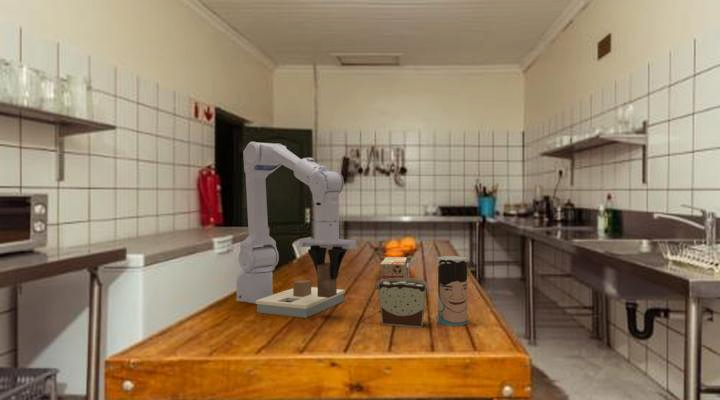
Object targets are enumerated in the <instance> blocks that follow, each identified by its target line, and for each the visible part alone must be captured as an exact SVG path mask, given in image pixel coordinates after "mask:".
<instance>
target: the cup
mask: <svg viewBox="0 0 720 400" xmlns="http://www.w3.org/2000/svg"><path fill="white" fill-rule="evenodd" d="M437 266H438V267H437V277H438V278H437V285H438V286H437V290H438V292H437V294H438V295H437V297H438V299H437V301H438V305H437V306H438V307H437V308H438V309H437V310H438V311H437V312H438V324H441V325H445V326H451V327H452V326H455V327H457V326H464V325H466V324H468V257H465V256H457V255H446V256H445V255H444V256H438V258H437Z"/></svg>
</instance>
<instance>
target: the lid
mask: <svg viewBox="0 0 720 400" xmlns="http://www.w3.org/2000/svg"><path fill="white" fill-rule="evenodd" d="M292 284H293V286H292V288H290V289H286V290H283V291H281V292H277V293H273V295H271V296H268V297H265V298H262V299H259V300H256V303H255V304H256V305H257V304H263V305H273V306H282V307H292V308H302V309H308V308H310V307H312V306H315V305H317V304H320V303H322V302H324V301H327V300H329V299H332V298H334V297H336V296H339V295H341V294H344V295H345V294H346V290H345V289H339V288H337V295H334V296H332V297H329V298H327V297H318V288H317V286H315V287H314V286H312V280H305V279H300V280H297V281H294V282H292ZM287 300H288V301H293V302H291V303H289V302H285V301H287Z"/></svg>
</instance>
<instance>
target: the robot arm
mask: <svg viewBox="0 0 720 400" xmlns="http://www.w3.org/2000/svg"><path fill="white" fill-rule="evenodd" d="M242 152H243V153H242V154H243V169H244V170H243V171H244V173H245V188H246V189H245V190H246V208H247V225H248V226H247V227H248V236H247V237H246V238H245V239H244V240H243V241H242V242H241V243H240V244H239V246H240V247H239V249H240V250H239V254H238V262H239V267H240V268H241V269H242V270H241V271H240V272H239V273H238V275H237V276H236V281H235V282H236V302H245V303H249V304H256V300H259V299H262V298H265V297H268V296H271V295H274V293H273V290H274V289H273V271H274V270H275V268H276V266H277V265H278V263H279V260H280V256H279V255H280V254H279V251H278V249H277V248H278V247H277V242H276V240H275V239H274V238H272V237H271V236H270V235H269V222H268V204H267V201H268V200H267V199H268V198H267V185H266V184H267V183H266V182H267V181H266V179H267V177H268V176H269V175H270V174H272V173H274V172H275V171H276V170H277V169H278V168H280V167H281V166H284V167H285V168H287V169H290V170H291V171H293V175H294V177H295V178H296V179H298V180H299V181H300V182H302V183H304V184H305V185H306V186H308V187H309V189H310V192H311V194H312V200H313V202H314V236H315V238H307V237H306V238H305V237H304V238H299V240H298V246H299V248H304V247H305V248H309V249H307V253H308V255H309V256H310V258H311V260H312V263H313V265H314V267H315V271H316V273H317V265H319V264H323V263H326V255H327V254H326V253H328V258H329V263H330V274H331V279H336V280H337V279H338V277H339V272H340V268H341V265H342V261H343V259H344V257H345V255H346V253H347V249H348V250H356V249H357V240H356V239H355V240H354V239H342V238H340V198H339V195H340V193H341V192H342V191H343V190H344V185H345V181H344V177H343V175H342V174H341V173H340V172H339V171H338V170H331V171H330V170H328V169H327V167H326V166H325V165H320V164H319V163H317V162H315V159H314V158H313V157H303V158H300V157H299V156H297V155H296V154H294V153H293V152H292V151H290V150H289V149H287V146H286V145H283V144H282V143H279V142H278V143H273V142H272V143H271V142H256V141H250V142H249V143H247V145H246V147H245V148H244V150H243V151H242ZM327 249H328V250H327Z"/></svg>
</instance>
